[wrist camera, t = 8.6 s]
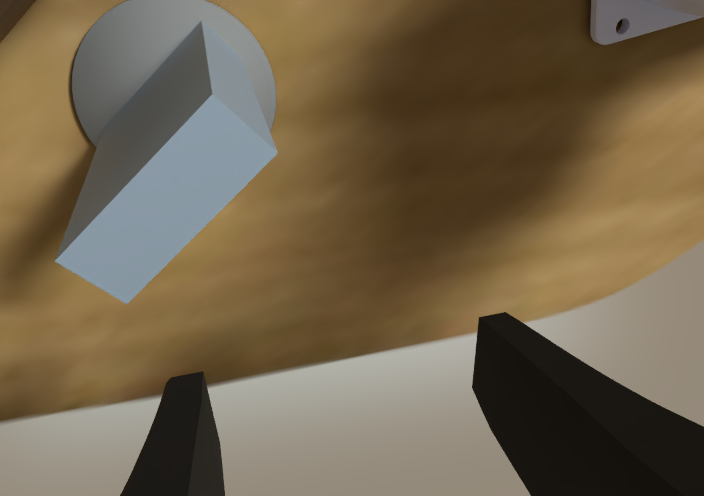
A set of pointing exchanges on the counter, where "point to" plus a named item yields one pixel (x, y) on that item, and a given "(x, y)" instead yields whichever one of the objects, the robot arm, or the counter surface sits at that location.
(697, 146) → the counter surface
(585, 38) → the counter surface
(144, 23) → the disc
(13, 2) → the domino
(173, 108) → the domino head
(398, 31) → the counter surface
